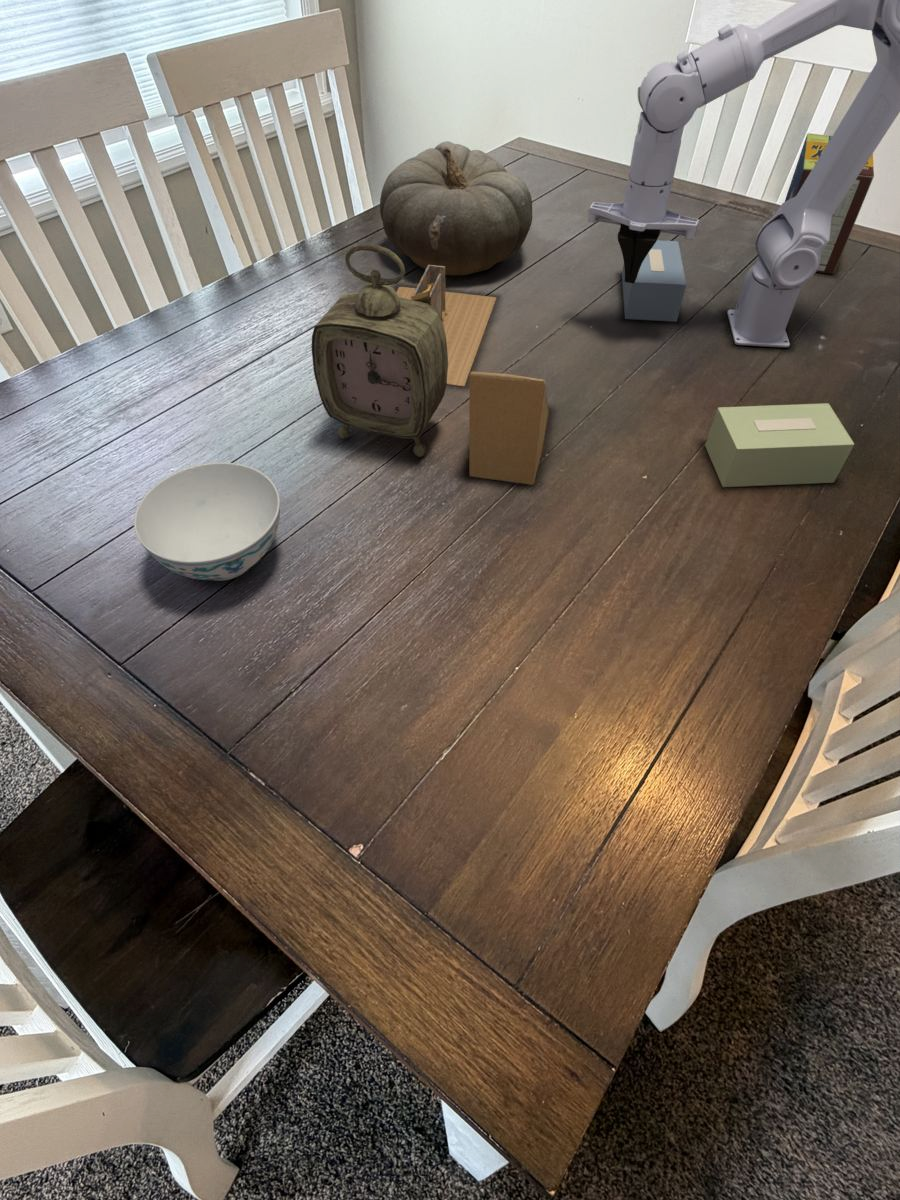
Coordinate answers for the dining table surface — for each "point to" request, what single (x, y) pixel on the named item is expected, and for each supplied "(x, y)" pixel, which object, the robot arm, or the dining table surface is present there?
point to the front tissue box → (777, 445)
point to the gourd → (455, 209)
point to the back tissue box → (656, 285)
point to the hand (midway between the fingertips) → (630, 279)
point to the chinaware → (209, 520)
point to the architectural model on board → (432, 288)
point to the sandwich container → (506, 426)
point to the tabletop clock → (380, 358)
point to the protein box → (846, 209)
